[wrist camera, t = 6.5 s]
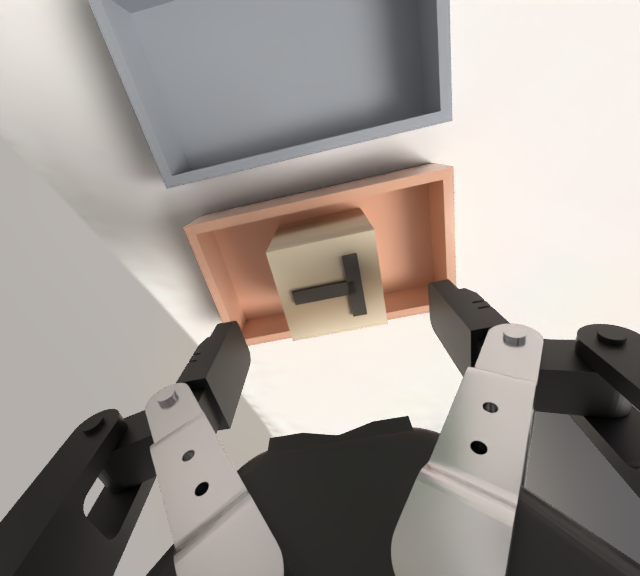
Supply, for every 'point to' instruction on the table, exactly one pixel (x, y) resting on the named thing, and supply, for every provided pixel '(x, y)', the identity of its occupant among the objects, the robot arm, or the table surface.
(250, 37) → the slate tray
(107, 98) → the table surface
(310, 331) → the letter cube
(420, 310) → the terracotta tray
